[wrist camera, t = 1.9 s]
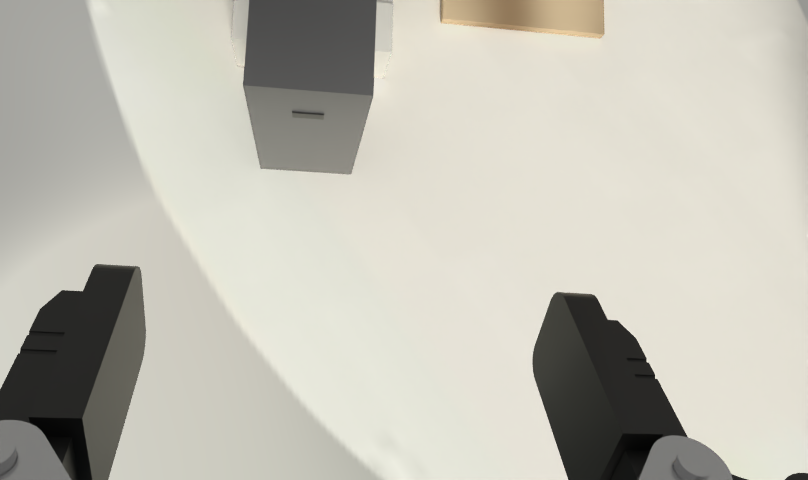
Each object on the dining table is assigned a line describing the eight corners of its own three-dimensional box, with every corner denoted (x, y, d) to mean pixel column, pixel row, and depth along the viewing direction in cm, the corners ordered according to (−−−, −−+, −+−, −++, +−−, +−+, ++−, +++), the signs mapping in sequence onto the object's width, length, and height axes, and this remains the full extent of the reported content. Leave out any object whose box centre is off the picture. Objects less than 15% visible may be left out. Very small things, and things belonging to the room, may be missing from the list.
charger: (355, 53, 37) (379, -72, 26) (350, 175, 35) (373, 97, 25) (268, 45, 36) (255, -86, 25) (260, 169, 35) (243, 87, 24)
